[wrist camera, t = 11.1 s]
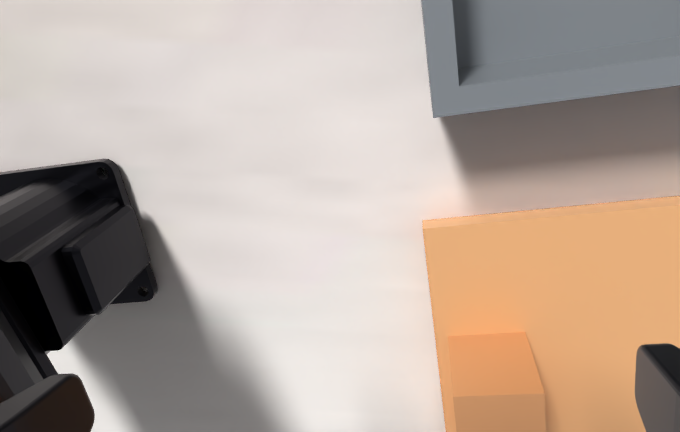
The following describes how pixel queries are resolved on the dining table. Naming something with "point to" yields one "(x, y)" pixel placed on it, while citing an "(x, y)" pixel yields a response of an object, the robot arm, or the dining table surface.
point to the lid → (551, 313)
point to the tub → (546, 50)
